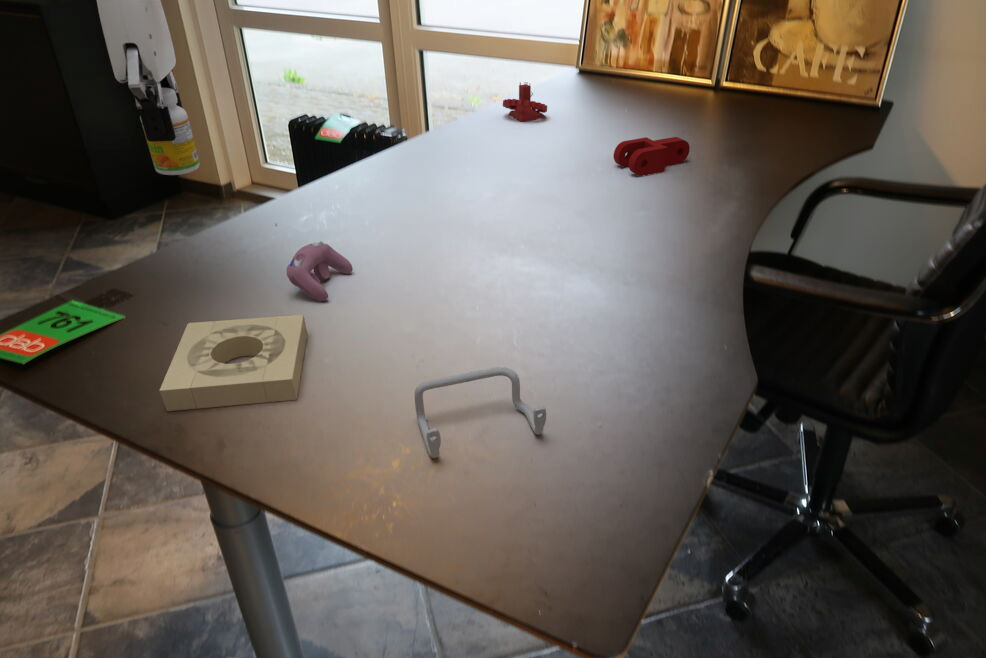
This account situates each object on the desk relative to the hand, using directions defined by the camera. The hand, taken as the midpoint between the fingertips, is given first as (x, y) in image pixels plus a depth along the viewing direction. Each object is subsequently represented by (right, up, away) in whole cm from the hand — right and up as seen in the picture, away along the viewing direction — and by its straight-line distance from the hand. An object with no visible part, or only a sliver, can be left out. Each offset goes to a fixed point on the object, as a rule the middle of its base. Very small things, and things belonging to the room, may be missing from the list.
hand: (167, 131), depth 89 cm
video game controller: (+15, -18, +14) cm, 28 cm away
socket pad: (+11, -30, -4) cm, 32 cm away
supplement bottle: (0, -4, +3) cm, 5 cm away
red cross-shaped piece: (+44, +30, +84) cm, 99 cm away
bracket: (+41, -37, -12) cm, 56 cm away
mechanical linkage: (+71, +11, +57) cm, 92 cm away
